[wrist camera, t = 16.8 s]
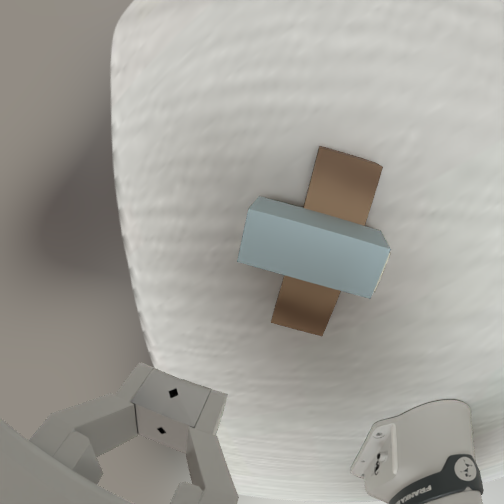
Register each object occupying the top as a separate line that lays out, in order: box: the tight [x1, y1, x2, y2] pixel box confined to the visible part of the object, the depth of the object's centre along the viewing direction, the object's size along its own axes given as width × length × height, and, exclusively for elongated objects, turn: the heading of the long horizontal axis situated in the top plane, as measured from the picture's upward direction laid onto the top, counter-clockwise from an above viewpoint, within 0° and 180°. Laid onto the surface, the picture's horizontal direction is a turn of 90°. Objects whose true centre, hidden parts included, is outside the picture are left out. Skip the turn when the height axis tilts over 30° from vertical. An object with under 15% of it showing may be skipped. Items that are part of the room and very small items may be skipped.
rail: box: [271, 146, 383, 336], centre depth 26 cm, size 16×5×3 cm, turn 168°
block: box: [237, 196, 391, 299], centre depth 23 cm, size 4×4×10 cm
